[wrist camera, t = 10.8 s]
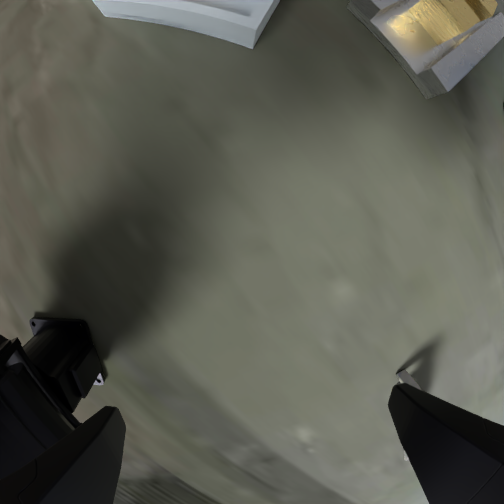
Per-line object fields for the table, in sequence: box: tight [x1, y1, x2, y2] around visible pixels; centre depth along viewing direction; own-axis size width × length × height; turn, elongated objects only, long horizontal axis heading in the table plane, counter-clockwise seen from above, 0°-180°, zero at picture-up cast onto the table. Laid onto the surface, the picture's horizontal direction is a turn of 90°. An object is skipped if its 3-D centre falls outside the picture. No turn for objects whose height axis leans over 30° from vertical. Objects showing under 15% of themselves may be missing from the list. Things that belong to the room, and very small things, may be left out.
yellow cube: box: [464, 0, 498, 24], centre depth 12 cm, size 4×4×4 cm
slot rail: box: [346, 0, 504, 99], centre depth 14 cm, size 20×10×3 cm, turn 132°
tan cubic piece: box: [408, 0, 480, 45], centre depth 13 cm, size 4×4×4 cm
